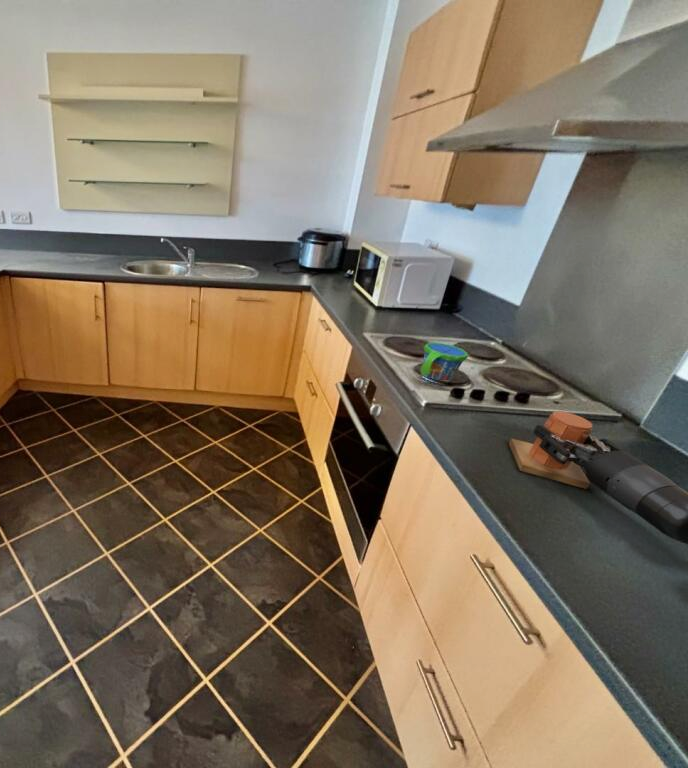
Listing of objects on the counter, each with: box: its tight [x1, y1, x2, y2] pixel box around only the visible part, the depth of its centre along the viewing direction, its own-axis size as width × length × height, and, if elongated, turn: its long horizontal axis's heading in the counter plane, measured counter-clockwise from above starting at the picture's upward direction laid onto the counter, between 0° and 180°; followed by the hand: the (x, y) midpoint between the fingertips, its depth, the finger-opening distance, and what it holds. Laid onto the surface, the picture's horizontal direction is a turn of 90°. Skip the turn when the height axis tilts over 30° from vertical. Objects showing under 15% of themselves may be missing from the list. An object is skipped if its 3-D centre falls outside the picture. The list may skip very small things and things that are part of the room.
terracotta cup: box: [529, 410, 594, 469], centre depth 85 cm, size 6×6×10 cm
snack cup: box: [420, 342, 469, 387], centre depth 120 cm, size 16×10×10 cm
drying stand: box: [508, 438, 591, 490], centre depth 85 cm, size 11×11×10 cm
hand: (553, 429), depth 86 cm, fingers closed on terracotta cup, 6 cm apart
